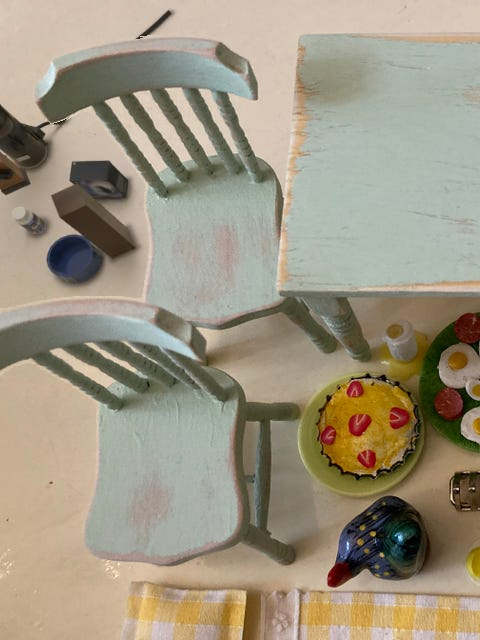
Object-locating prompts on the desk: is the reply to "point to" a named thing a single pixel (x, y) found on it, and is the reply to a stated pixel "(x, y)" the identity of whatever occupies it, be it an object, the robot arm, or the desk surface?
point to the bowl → (74, 258)
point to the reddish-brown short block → (18, 178)
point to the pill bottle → (28, 220)
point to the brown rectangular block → (93, 220)
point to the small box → (99, 179)
